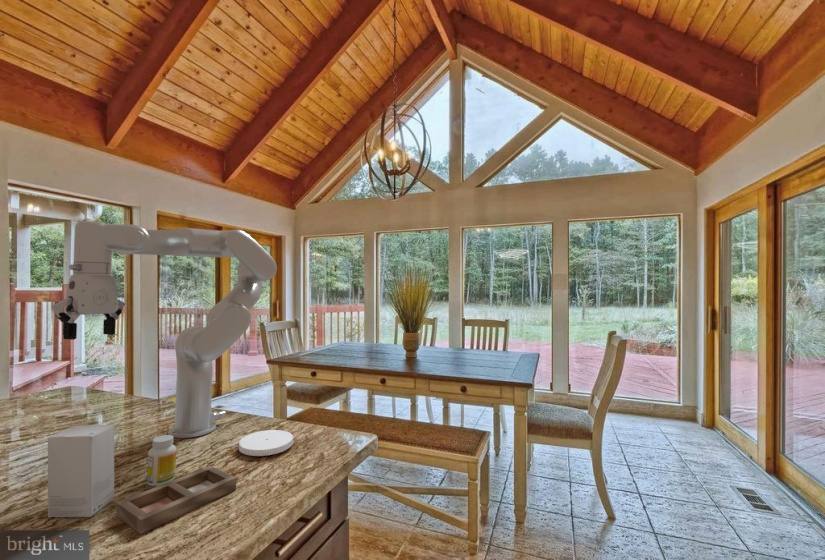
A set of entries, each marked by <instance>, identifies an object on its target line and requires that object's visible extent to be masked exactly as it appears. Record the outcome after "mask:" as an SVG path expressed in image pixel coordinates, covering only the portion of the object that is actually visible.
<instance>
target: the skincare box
mask: <svg viewBox="0 0 825 560" xmlns="http://www.w3.org/2000/svg"><path fill="white" fill-rule="evenodd" d="M114 499H115V424H89V425H88V424H85V425H84V424H80V425H78V424H77V425H76V424H75V425H72V426H70V427H68V428H66V429H64V430H61V431H59V432H57V433H55V434H52V435H50V436H49V437H47V518H48V517H68V518H91V517H92V516H94V515H96V514H97V513H99V512H100V511H101V510H102V509H104V508H105V507H106V506H107V505H109V504H110V503H112V501H114Z"/></svg>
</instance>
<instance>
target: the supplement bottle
mask: <svg viewBox="0 0 825 560" xmlns="http://www.w3.org/2000/svg"><path fill="white" fill-rule="evenodd" d="M173 443H174V437H173V436H172V435H169V434H163V435H159V436H156V437H154V438H153V439H152V444H151V445H152V447H151V448H150V449H149V450H148V453H147V467H146V469H147V471H146V484H147V485H148V486H150V487H157V486H160V485H162V484H165V483H167V482H170V481H172V480H175V479H176V478H175V476H176V466H177V465H176V462H177V461H176V459H177V446H176V445H175V444H173Z"/></svg>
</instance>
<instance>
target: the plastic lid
mask: <svg viewBox="0 0 825 560" xmlns="http://www.w3.org/2000/svg"><path fill="white" fill-rule="evenodd" d="M293 444H294V435H293V434H292V433H291V432H289V431H286V430H278V429H269V430H267V429H266V430H261V431H255V432H253V433H249V434H247V435H245V436H243V437H242V438H241V439H240V440H239V442H238V451H239V452H240V453H241V454H243V455H244V456H246V455H247V456H254V457H264V456H270V455H276V454H279V453H282V452H285V451H287V450H288V449H290V448H291V447H292V446H293Z"/></svg>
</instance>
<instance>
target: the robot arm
mask: <svg viewBox="0 0 825 560" xmlns="http://www.w3.org/2000/svg"><path fill="white" fill-rule="evenodd" d="M73 241H74V242H73V243H74V244H73V264H69V266H68V269H69V270H70V271H71V270H72V274H70V277H69V279H68V283H67V286H66V293H65V299H63V300H60V301H58V302H56V303H55V304H52V305H51V309H52V311H53V313H54V314H55V317H56V318H57V319H58V320H59V322H60V323H61V324H63V325H62V335H63V339H64V340H77V336H78V335H77V334H78V331H77V329H78V324H77V322H75V321H77V319H78V318H79V317H80V316H81V315H82V316H83V315H84V316H90V315H103V317H105V318H106V319H105V318H104V319H103V326H102V327H103V328H102V331H103V332H102V333H103V335H111V336H113V335H116V320H118V319H119V316H120V315H121V314H122V312H123V310H124V307H125V306H126V303H125V302H124V301H122V300H121V299H118V287H117V282H116V279H115V276H113V275H112V261H113V251H114V252H116V253H119V254H122V255H149V256H151V255H152V256H154V255H155V256H156V255H157V256H158V255H159V256H174V257H195V258H196V257H202V258H204V257H206V258H236V260H237V261H239V262H238V264H237V268H236V271H237V283H236V285H235V286H234V287H233V289H231V290H230V292H229V293H227V294H226V295H225V296H224V297H223V298H222V299H220V301H218V302H217V303H216V304H214V306H213V307H212V308H210V310H209V311H208V313H207V316H206V322H207V325H206V326H205V327H204V326H198V325H193V326H188V327H187V328H185V329H183V330H181V332H180V333H179V334H178V336H177V338H176V340H175V358H176V381H175V382H176V383H175V385H176V386H175V387H176V388H175V406H174V407H175V409H174V411H175V413H174V425H173V426H171V427H170V428H169V429H168V434H167V435H172V436H173V438H177V439H188V438H196V437H201V436H205V435H207V434H209V433H212V432H213V431H215V430H216V429H217V423H216V421H217V419H221V418H222V419H223V418H225V417H226V416H227V413H226V412H227V411H225V410H223V411H212V393H213V375H214V374H213V371H214V369H213V361H215V360H217V359H218V358H220V357H221V356H222V355H223V354H225V352H227V350H229V349H230V348H231V347H232V346H233V344H235V343H236V342H237V341H238V340H239V339H240V338H241V337H242V335H244V334H245V332H246V331H247V330H248V328H249V327H250V325H251V322H252V314H251V311H250V310H251V309H252V308H254V306H255V305H256V304H257V303H258V301H259V299H260V297H261V295H262V291H263V290H262V287H263V282H265V281H269V280H271V279H273V278H274V277H275V276H276V274H277V270H278V268H277V267H278V265H277V262H276V260H275V259H274V258H273V256H271V255H270V254H269V253H268V252H267V251H266V250H265V248H263V246H261V245H260V243H258V242H257V241H256V240H255V239H254V238H253V237H252V236H251V235H250V234H249V233H247V232H246V231H243V230H241V229H237V228H236V229H230V230H216V229H204V228H203V229H202V228H191V227H181V228H173V229H172V228H171V229H145V228H144V227H142V226H140V225H137V224H128V223H127V224H117V223H116V224H115V223H112V224H111V223H110V224H109V223H106V222H100V221H90V220H89V221H85V220H82V221H78V222H76V224H75V226H74V240H73ZM64 308H65V312H64Z"/></svg>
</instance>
